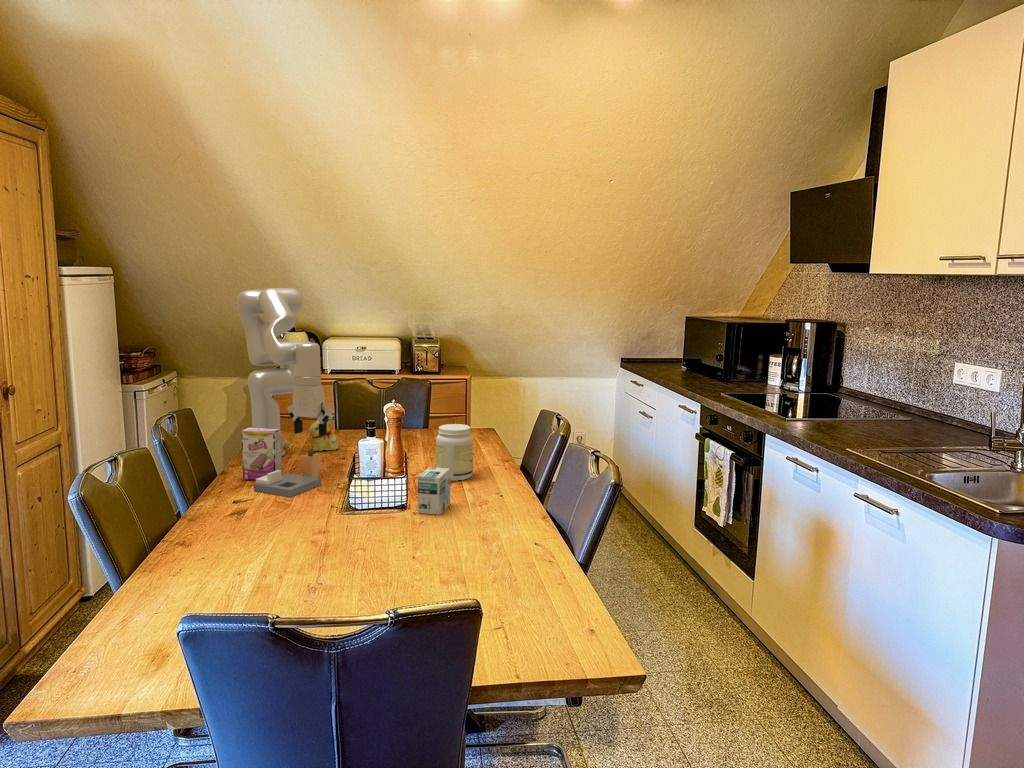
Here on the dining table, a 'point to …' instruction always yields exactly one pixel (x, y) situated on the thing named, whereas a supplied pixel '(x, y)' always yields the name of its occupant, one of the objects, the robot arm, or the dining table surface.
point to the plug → (310, 464)
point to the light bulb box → (433, 490)
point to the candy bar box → (260, 452)
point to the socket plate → (289, 485)
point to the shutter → (270, 478)
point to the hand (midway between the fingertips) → (310, 434)
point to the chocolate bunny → (323, 438)
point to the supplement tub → (455, 450)
